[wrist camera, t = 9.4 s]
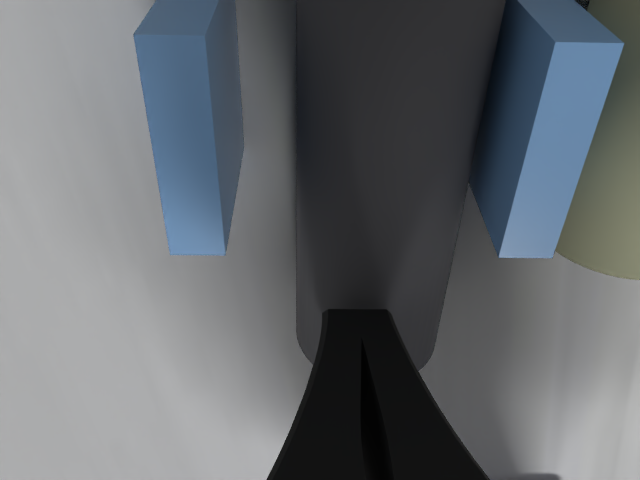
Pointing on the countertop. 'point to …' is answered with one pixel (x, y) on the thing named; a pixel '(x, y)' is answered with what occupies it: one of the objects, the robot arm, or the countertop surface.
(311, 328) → the dark grey cylinder
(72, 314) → the countertop surface
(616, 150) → the olive yellow cylinder
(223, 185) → the rectangular blocks
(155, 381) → the countertop surface
